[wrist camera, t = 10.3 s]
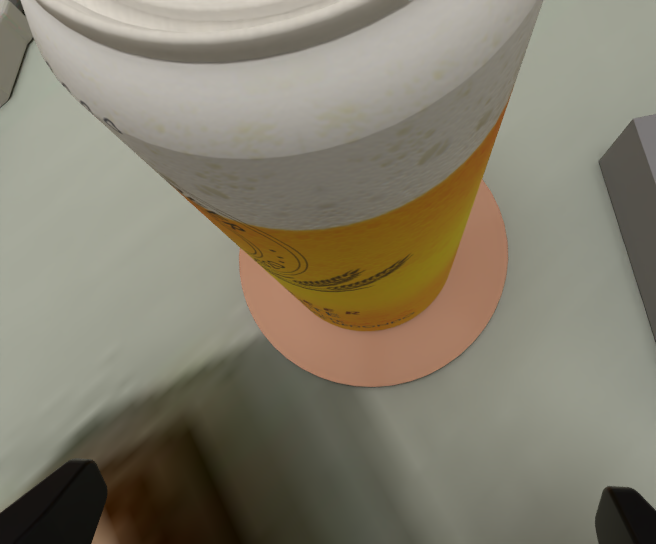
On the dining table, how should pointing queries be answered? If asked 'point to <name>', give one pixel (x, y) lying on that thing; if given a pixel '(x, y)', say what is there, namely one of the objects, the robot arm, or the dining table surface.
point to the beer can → (307, 126)
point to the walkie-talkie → (11, 44)
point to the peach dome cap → (403, 340)
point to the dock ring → (636, 201)
